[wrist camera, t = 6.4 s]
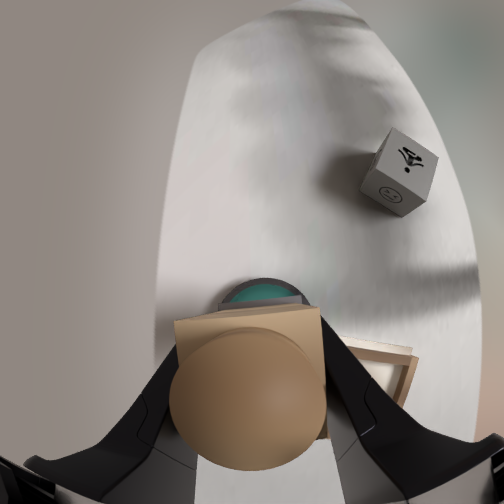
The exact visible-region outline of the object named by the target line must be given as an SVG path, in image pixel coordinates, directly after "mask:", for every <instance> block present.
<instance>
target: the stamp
mask: <svg viewBox="0 0 504 504" xmlns="http://www.w3.org/2000/svg"><path fill="white" fill-rule="evenodd" d="M218 309H219V312H214V313H210V314H205V315H200V316H196V317H191V318H186V319H181V320H176V321H174V330H175V339H176V347H177V355H178V363H179V368H178V370H177V372H176V374H175V376H174V378H173V381H172V384H171V388H170V394H169V405H170V412H171V416H172V420H173V422H174V424H175V427H176V429H177V431H178V432H179V434H180V436H181V437H182V438H183V439H184V441H185V442H186V443H187V444H188V445H189V446H190V447H191V448H192V449H193V450H194V451H195V452H197V453H198V454H199V455H201V456H202V457H204V458H205V459H207V460H209V461H211V462H213V463H215V464H217V465H220V466H223V467H226V468H230V469H234V470H242V471H259V470H266V469H271V468H275V467H278V466H281V465H284V464H286V463H288V462H290V461H292V460H293V459H295V458H297V457H298V456H300V455H301V454H302V453H303V452H305V451H306V450H307V449H308V448H309V447H310V446H311V445H312V443H313V442H314V441H315V440H318V439H325V438H328V431H327V400H326V381H325V365H324V351H323V339H322V327H321V317H320V308H319V307H314V306H309V305H304V304H302V298H301V295H297V296H289V297H280V298H272V299H262V300H253V301H242V302H232V303H220V304H218Z"/></svg>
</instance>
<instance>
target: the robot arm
mask: <svg viewBox="0 0 504 504" xmlns="http://www.w3.org/2000/svg"><path fill="white" fill-rule="evenodd" d="M320 317H321V327H322V339H323V351H324V365H325V381H326V400H327V426H328V430H329V434H330V438H331V442H332V446H333V451H334V455H335V459H336V463H337V468H338V472H339V477H340V481H341V486H342V490H343V495H344V499H345V504H504V438H503V437H501V436H499V435H498V434H496V433H492V434H491V435H489V436H488V437H486V438H485V439H483V440H481V441H479V442H475V443H469V442H464V441H461V440H458V439H455V438H452V437H449V436H446V435H443V434H440V433H437V432H434V431H431V430H429V429H427V428H425V427H423V426H422V425H420V424H419V423H418V422H417V421H415V420H414V419H413V418H412V417H411V416H410V415H409V414H408V413H407V412H406V411H405V410H404V409H402V408H401V407H400V406H399V405H398V404H397V403H396V402H395V401H394V400H393V399H392V398H391V397H390V396H389V395H388V394H387V393H386V392H385V391H384V390H383V389H382V388H381V386H380V385H379V384H378V383H377V382H376V381H375V379H374V378H373V377H372V378H371V375H370V373H369V372H368V371H367V370H366V369H365V367H364V366H363V365H362V364H361V363H360V361H359V360H358V359H357V358H356V357H355V355H354V354H353V353H352V352H351V351H350V349H349V348H348V347H347V346H346V345H345V343H344V342H343V341H342V340H341V339H340V337H339V336H338V335H337V334H336V333H335V332H334V330H333V329H332V328H331V327H330V326H329V324H328V323H327V322H326V321H325V320H324V319H323V317H322V316H321V315H320ZM178 368H179V363H178V355H177V347H176V344H175V346H174V347H173V348H172V350H171V351H170V353H169V354H168V355H167V357H166V358H165V360H164V361H163V362H162V364H161V365H160V367H159V368H158V369H157V371H156V372H155V374H154V375H153V377H152V378H151V379H150V381H149V382H148V384H147V385H146V387H145V388H144V389H143V391H142V392H141V393H142V394H140V395H139V396H138V398H137V399H136V401H135V402H134V403H133V405H132V406H131V407H130V409H129V410H128V411H127V412H126V413H125V415H124V416H123V417H122V418H121V419H120V421H119V422H118V423H117V424H116V425H115V426H114V427H113V428H112V429H111V431H110V432H109V433H108V434H107V435H106V436H105V437H104V438H103V439H102V440H101V441H100V442H99V443H98V444H96V445H94V446H93V447H91V448H88V449H85V450H83V451H80V452H77V453H75V454H72V455H69V456H66V457H63V458H61V459H57V460H45V459H43V458H41V457H39V456H37V455H34V456H32V457H31V458H29V459H27V460H26V461H25V462H24V464H23V465H24V466H25V467H26V468H28V469H29V470H31V471H33V472H34V473H32V472H30V471H28V470H26V469H24V468H22V467H20V466H18V465H16V464H14V463H13V462H11V461H9V460H7V459H5V458H3V457H2V456H0V504H194V499H195V485H196V470H197V459H198V453H197V452H195V451H194V450H193V449H192V448H191V447H190V446H189V445H188V444H187V443H186V442H185V441H184V439H183V438H182V437H181V436H180V434H179V432H178V431H177V429H176V427H175V424H174V422H173V420H172V416H171V412H170V405H169V394H170V388H171V384H172V381H173V378H174V376H175V374H176V372H177V370H178ZM35 473H36V474H35ZM37 474H38V475H37ZM39 475H40V476H39ZM41 476H42V477H41Z"/></svg>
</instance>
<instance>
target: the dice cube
mask: <svg viewBox="0 0 504 504" xmlns="http://www.w3.org/2000/svg"><path fill="white" fill-rule="evenodd" d="M438 158H439V157H437V156H436V155H434V154H433V153H432V152H430V151H429V150H427V149H426V148H424V147H423V146H421V145H420V144H418V143H417V142H415V141H414V140H412V139H411V138H409V137H408V136H406V135H405V134H403V133H401V132H400V131H398V130H397V129H395V128H393V127H392V129H391V131H390V132H389V134H388V135H387V137H386V138H385V140H384V142H383V143H382V145H381V146H380V148H379V149H378V151H377V152H376V154H375V157H374V159H373V161H372V163H371V166H370V168H369V170H368V172H367V174H366V177H365V179H364V181H363V183H362V185H361V187H360V189H359V191H360V192H362V193H364V194H365V195H367V196H369V197H370V198H372V199H374V200H375V201H377V202H379V203H380V204H382V205H383V206H385V207H387V208H388V209H390V210H391V211H393V212H394V213H396V214H397V215H399V216H400V217H404V216H405V215H407V214H408V213H410V212H411V211H413V210H414V209H416V208H417V207H419V206H420V205H422V204H423V203H424V202H426V200H427V197H428V194H429V191H430V187H431V184H432V181H433V177H434V173H435V170H436V166H437V162H438Z"/></svg>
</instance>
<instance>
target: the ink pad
mask: <svg viewBox="0 0 504 504" xmlns="http://www.w3.org/2000/svg"><path fill="white" fill-rule="evenodd" d="M297 295H301V298H302V304H304V305H309V306H311V305H310V304H309V302H308V300H307V299H306V298H305V296H304V295H303V294H302V293H301V292H300V291H299V290H298V289H297V288H295V287H294V286H292V285H290V284H289V283H287V282H284V281H282V280H278V279H273V278H259V279H253V280H250V281H247V282H245V283H243V284H241V285H239V286H237V287H236V288H235V289H233V290H232V291H231V292H230V293H229V294H228V295H227V296H226V298H225V299H224V301H223V302H222V303H232V302H242V301H253V300H262V299H272V298H280V297H289V296H297ZM218 312H219V310H218Z"/></svg>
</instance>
